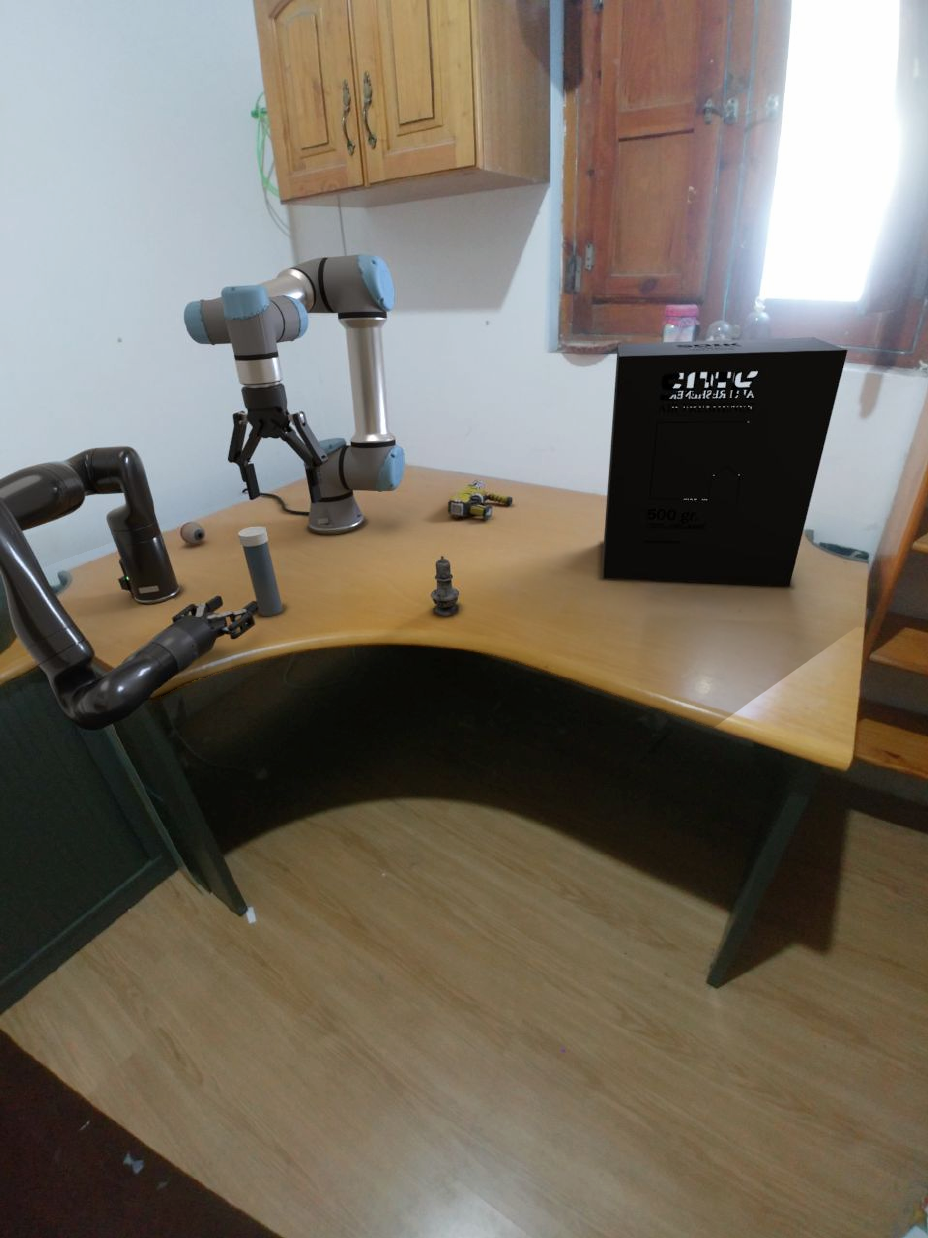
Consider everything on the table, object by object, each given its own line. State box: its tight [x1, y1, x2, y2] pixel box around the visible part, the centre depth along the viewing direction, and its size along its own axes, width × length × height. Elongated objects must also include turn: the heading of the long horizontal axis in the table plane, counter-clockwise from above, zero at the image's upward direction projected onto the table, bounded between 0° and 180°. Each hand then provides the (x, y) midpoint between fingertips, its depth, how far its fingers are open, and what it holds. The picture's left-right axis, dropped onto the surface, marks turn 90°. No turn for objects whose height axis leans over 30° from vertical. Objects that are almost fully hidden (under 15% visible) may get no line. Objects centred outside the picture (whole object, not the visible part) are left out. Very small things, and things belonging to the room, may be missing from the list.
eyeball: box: [179, 521, 206, 546], centre depth 161 cm, size 6×6×6 cm
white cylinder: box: [237, 525, 269, 547], centre depth 119 cm, size 5×5×2 cm
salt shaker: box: [430, 555, 461, 616], centre depth 121 cm, size 6×6×12 cm
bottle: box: [242, 541, 284, 617], centre depth 123 cm, size 5×5×18 cm
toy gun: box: [447, 479, 514, 521], centre depth 175 cm, size 5×24×15 cm
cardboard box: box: [602, 336, 849, 588], centre depth 126 cm, size 38×20×45 cm, turn 78°
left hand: (238, 602), depth 117 cm, fingers open, 8 cm apart
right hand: (285, 499), depth 118 cm, fingers open, 13 cm apart
